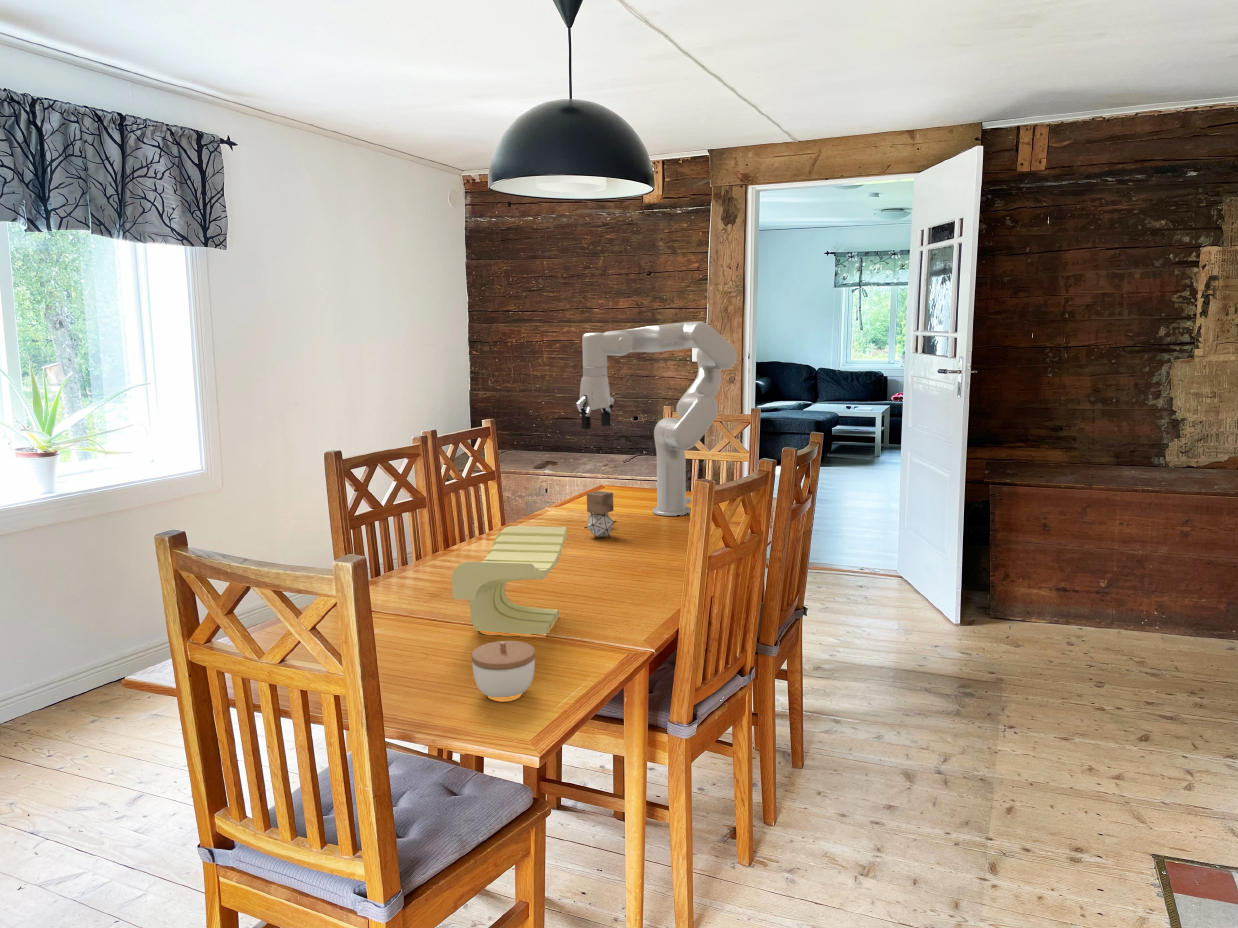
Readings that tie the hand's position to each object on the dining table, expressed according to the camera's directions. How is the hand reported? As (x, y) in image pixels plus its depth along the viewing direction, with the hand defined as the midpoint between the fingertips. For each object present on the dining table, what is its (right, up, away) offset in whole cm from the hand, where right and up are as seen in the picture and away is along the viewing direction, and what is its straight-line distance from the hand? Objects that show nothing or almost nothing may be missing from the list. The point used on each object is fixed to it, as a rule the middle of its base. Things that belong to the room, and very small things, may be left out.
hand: (596, 427), depth 271 cm
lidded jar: (-12, -51, -124) cm, 135 cm away
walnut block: (+2, -25, -17) cm, 31 cm away
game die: (+2, -34, -16) cm, 37 cm away
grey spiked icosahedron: (+1, -32, -4) cm, 32 cm away
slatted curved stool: (-15, -46, -90) cm, 102 cm away
